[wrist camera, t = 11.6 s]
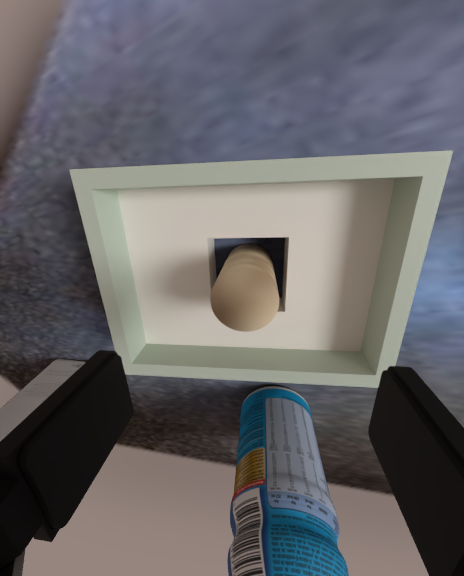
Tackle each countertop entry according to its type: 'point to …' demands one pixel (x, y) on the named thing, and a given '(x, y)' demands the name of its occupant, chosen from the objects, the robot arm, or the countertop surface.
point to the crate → (296, 272)
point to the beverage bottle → (281, 493)
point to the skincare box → (35, 393)
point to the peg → (246, 289)
